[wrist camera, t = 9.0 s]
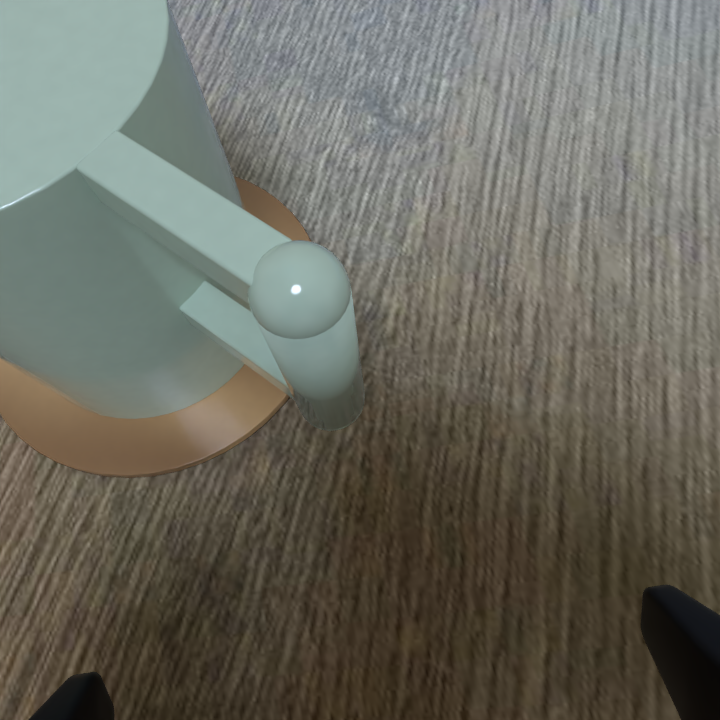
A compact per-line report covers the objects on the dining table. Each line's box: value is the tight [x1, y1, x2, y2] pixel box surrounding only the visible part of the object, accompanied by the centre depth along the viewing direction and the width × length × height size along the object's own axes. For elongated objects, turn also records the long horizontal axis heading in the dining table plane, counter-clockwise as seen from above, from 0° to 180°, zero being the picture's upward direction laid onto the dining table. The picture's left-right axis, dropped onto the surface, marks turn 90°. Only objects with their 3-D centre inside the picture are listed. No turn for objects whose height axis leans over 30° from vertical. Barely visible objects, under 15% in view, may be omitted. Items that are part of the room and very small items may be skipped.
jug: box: [0, 0, 365, 431], centre depth 15 cm, size 15×8×10 cm, turn 53°
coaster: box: [0, 176, 311, 478], centre depth 20 cm, size 12×12×1 cm
